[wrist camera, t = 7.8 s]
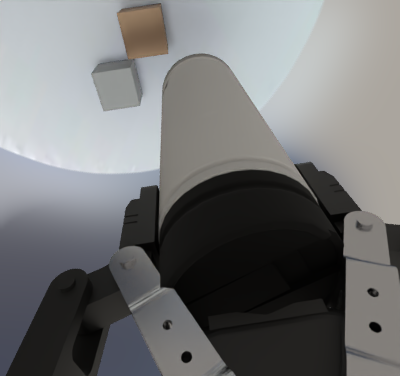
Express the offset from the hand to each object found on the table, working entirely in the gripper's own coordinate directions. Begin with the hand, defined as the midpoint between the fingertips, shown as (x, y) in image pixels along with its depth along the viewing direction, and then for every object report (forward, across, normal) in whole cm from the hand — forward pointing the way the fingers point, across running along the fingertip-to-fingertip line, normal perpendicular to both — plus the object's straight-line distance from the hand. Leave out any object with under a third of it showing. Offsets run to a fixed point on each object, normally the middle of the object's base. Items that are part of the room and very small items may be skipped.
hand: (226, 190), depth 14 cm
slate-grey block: (+34, +10, +3) cm, 35 cm away
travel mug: (+14, 0, 0) cm, 14 cm away
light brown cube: (+34, +5, -3) cm, 34 cm away
